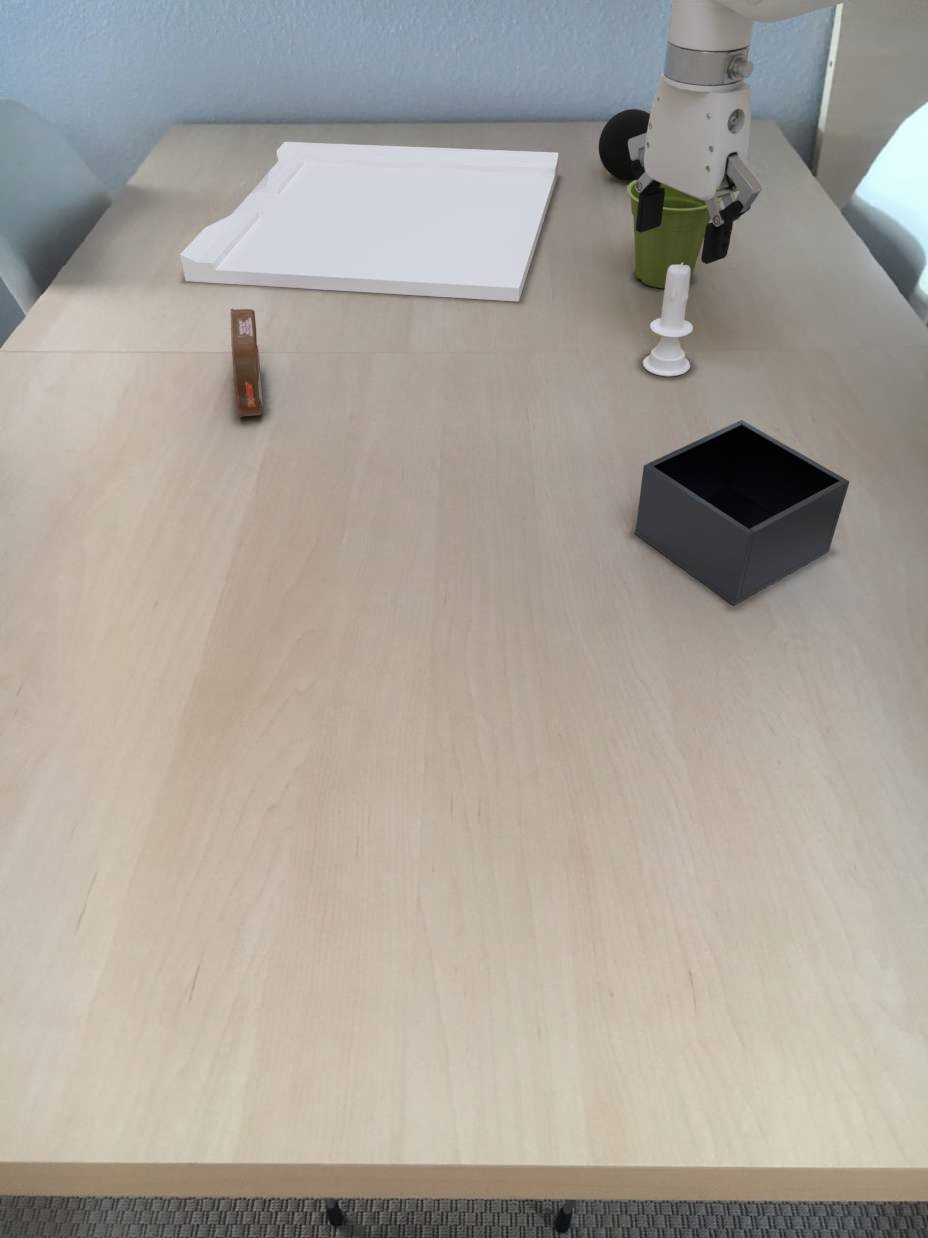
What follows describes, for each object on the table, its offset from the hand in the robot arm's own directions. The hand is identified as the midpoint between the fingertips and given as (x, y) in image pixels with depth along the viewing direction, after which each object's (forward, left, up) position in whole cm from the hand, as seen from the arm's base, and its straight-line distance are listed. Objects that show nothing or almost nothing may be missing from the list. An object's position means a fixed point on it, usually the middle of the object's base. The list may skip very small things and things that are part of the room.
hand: (679, 243), depth 104 cm
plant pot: (-16, -17, -14) cm, 27 cm away
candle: (0, 0, -14) cm, 14 cm away
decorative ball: (-37, -47, -14) cm, 61 cm away
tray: (+3, -55, -14) cm, 57 cm away
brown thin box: (+41, -23, -14) cm, 49 cm away
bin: (+18, +27, -14) cm, 36 cm away
